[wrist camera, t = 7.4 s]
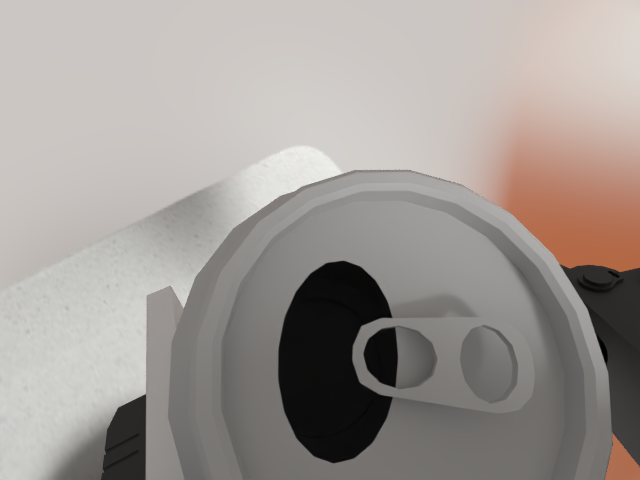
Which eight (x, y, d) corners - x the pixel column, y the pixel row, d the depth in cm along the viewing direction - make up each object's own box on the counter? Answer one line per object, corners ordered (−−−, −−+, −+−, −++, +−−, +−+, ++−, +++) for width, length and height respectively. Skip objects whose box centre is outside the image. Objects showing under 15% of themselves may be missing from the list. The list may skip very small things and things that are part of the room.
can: (245, 274, 17) (193, 97, 6) (395, 290, 18) (609, 159, 6) (218, 452, 14) (30, 759, 3) (395, 462, 15) (753, 738, 4)
